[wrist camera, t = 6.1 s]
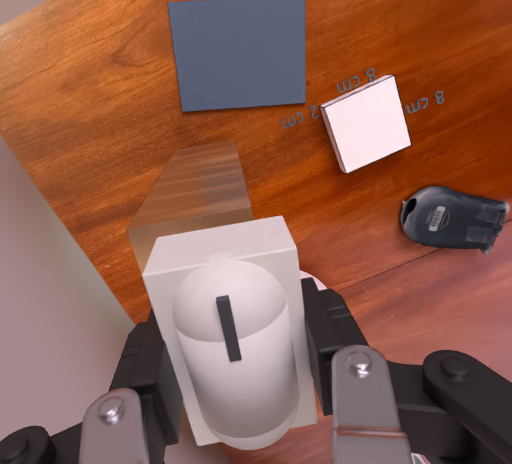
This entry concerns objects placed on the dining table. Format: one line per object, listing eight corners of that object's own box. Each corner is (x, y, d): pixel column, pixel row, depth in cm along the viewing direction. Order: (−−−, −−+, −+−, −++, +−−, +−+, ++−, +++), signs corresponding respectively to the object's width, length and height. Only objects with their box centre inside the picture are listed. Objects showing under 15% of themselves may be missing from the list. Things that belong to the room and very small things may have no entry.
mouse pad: (182, 111, 47) (182, 111, 46) (167, 3, 42) (167, 2, 41) (305, 102, 47) (305, 102, 47) (304, -5, 43) (304, -6, 42)
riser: (175, 149, 48) (125, 229, 23) (234, 138, 48) (251, 205, 23) (196, 230, 53) (174, 372, 27) (250, 220, 53) (278, 352, 28)
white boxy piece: (156, 235, 11) (128, 301, 8) (282, 212, 11) (307, 269, 8) (200, 389, 14) (194, 488, 11) (302, 370, 14) (328, 462, 11)
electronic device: (492, 188, 56) (411, 179, 52) (521, 205, 52) (434, 196, 48) (464, 239, 61) (387, 234, 57) (488, 258, 56) (407, 254, 52)
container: (305, 186, 52) (310, 191, 49) (275, 109, 47) (278, 111, 45) (439, 126, 50) (451, 128, 48) (421, 41, 46) (433, 39, 43)
